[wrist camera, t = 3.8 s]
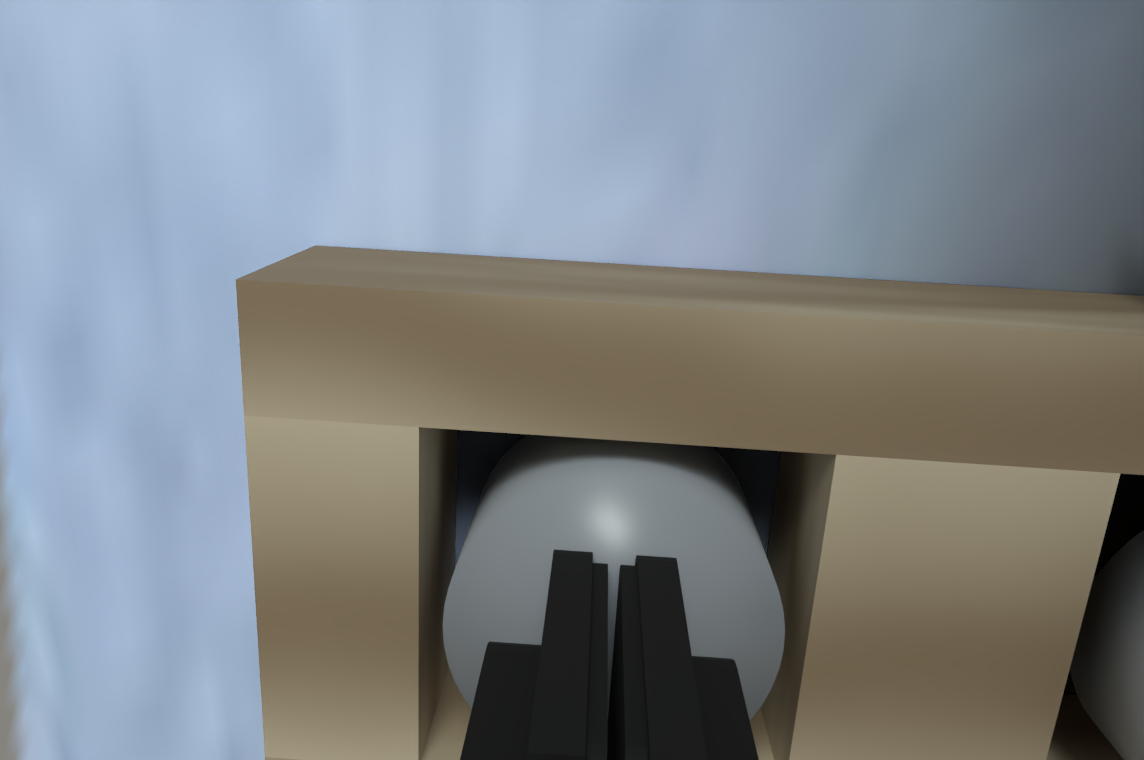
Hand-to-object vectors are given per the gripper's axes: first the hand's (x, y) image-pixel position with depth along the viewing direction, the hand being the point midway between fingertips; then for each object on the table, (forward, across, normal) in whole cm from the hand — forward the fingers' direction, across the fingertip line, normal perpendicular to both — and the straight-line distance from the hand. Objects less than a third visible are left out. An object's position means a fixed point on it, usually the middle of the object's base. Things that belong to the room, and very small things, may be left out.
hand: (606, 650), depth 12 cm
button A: (+3, 0, 0) cm, 3 cm away
